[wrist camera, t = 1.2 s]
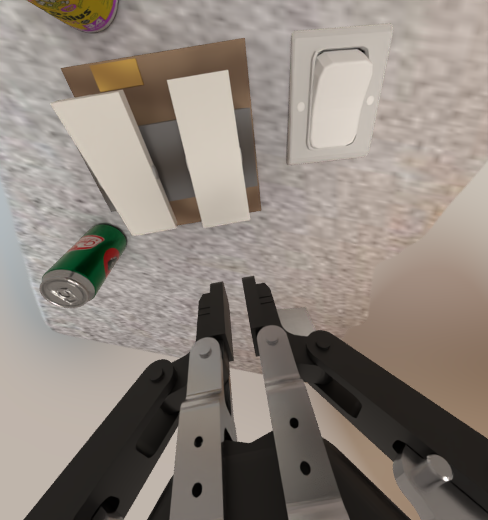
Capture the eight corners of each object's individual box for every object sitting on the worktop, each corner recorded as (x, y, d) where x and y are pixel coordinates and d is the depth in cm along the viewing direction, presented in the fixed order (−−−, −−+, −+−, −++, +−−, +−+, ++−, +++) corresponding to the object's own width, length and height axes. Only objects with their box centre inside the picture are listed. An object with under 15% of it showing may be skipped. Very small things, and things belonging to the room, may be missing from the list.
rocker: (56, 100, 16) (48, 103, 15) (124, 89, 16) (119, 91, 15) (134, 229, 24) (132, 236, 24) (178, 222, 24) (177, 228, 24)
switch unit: (66, 69, 22) (13, 55, 16) (243, 40, 22) (254, 16, 16) (141, 229, 32) (125, 255, 26) (260, 207, 32) (270, 229, 27)
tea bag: (274, 309, 46) (288, 352, 38) (305, 307, 47) (324, 349, 38) (272, 321, 48) (285, 364, 40) (302, 318, 49) (320, 360, 40)
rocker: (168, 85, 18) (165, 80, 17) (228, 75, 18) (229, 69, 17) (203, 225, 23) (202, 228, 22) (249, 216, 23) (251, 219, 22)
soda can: (112, 217, 30) (64, 268, 21) (134, 245, 33) (102, 301, 24) (81, 230, 31) (21, 285, 21) (106, 256, 34) (63, 316, 24)
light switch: (414, 9, 20) (379, 159, 27) (384, 27, 24) (360, 156, 30) (300, 17, 20) (294, 168, 26) (287, 34, 23) (285, 164, 30)
